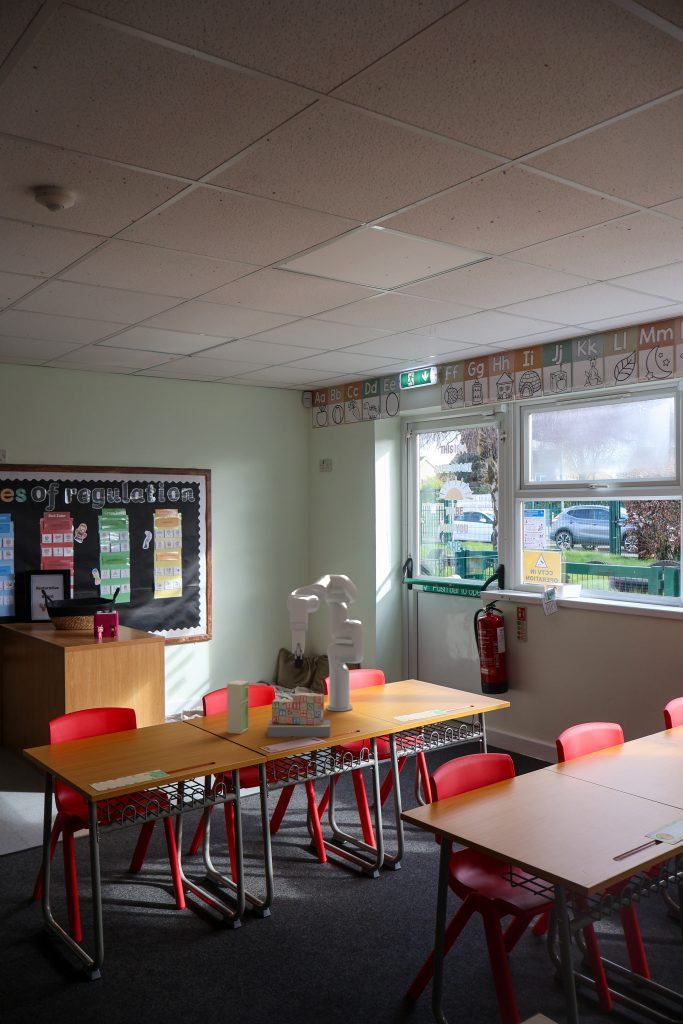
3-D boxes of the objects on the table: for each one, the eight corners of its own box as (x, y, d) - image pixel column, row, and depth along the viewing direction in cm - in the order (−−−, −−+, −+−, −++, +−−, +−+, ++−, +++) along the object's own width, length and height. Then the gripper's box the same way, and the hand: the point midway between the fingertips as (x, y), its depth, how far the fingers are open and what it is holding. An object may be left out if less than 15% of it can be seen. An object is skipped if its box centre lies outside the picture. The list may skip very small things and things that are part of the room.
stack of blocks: (271, 723, 361) (271, 694, 362) (275, 720, 367) (275, 691, 368) (320, 725, 357) (321, 695, 358) (324, 722, 363) (324, 693, 364)
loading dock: (269, 729, 368) (269, 719, 368) (330, 729, 368) (330, 719, 368) (267, 736, 356) (267, 726, 356) (329, 736, 356) (329, 726, 356)
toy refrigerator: (242, 734, 360) (242, 684, 360) (226, 733, 362) (226, 683, 362) (250, 729, 367) (250, 681, 368) (235, 728, 370) (235, 680, 370)
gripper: (291, 623, 371) (291, 662, 371) (289, 628, 354) (289, 670, 353) (308, 623, 371) (308, 662, 371) (307, 628, 354) (307, 670, 354)
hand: (299, 666), depth 362 cm, fingers open, 9 cm apart
